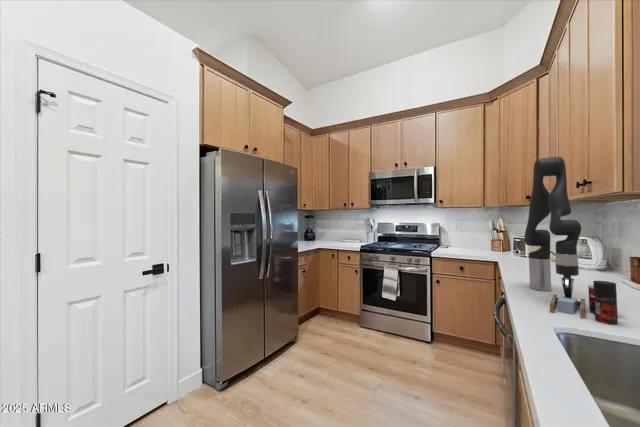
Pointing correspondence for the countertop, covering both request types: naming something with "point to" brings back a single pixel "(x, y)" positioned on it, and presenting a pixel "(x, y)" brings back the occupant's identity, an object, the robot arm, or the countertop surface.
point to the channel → (581, 304)
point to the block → (567, 305)
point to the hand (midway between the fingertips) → (568, 302)
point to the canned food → (592, 298)
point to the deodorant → (605, 302)
